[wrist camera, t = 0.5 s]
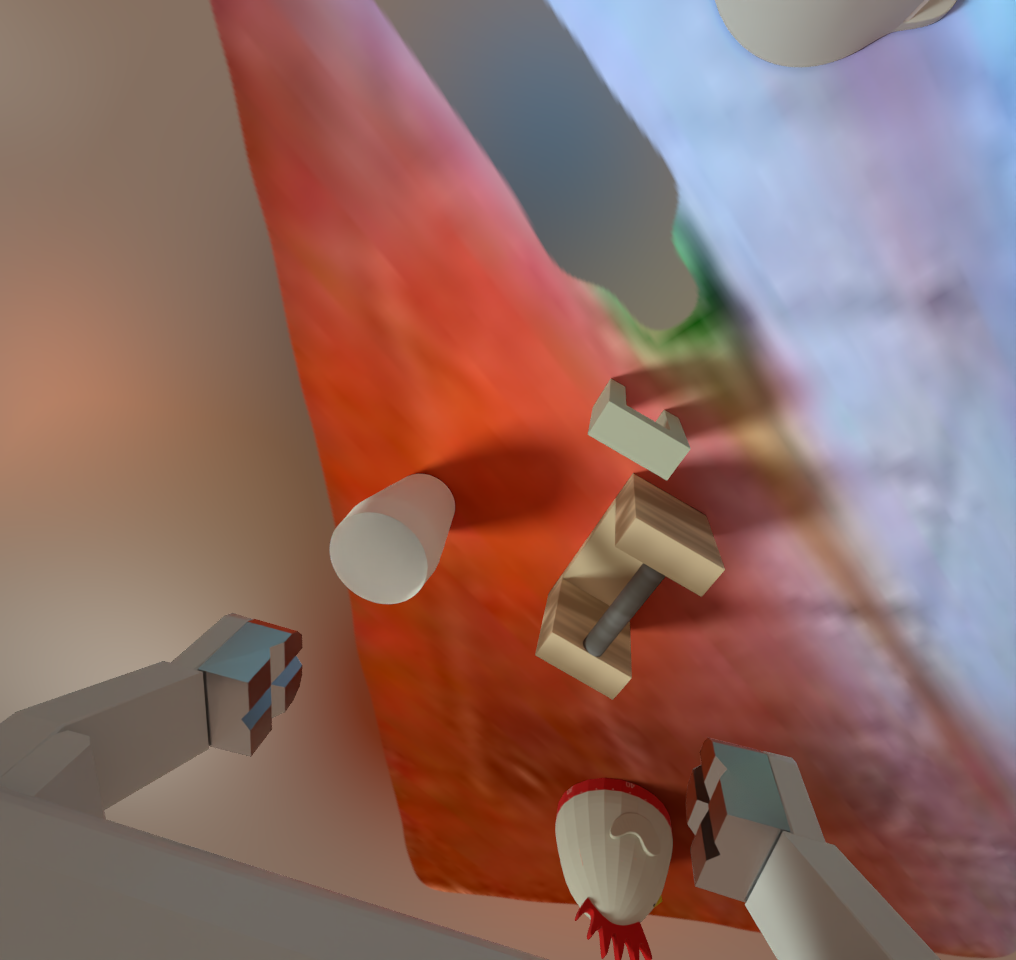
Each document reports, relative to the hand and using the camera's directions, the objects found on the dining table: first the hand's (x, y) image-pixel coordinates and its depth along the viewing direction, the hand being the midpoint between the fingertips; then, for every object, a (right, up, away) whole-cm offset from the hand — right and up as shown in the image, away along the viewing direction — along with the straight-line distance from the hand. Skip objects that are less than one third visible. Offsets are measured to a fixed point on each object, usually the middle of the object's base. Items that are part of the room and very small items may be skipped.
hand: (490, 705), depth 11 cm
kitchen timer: (+13, -38, +57) cm, 70 cm away
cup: (-8, +2, +46) cm, 47 cm away
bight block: (+12, +11, +39) cm, 42 cm away
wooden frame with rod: (+12, -3, +44) cm, 46 cm away
